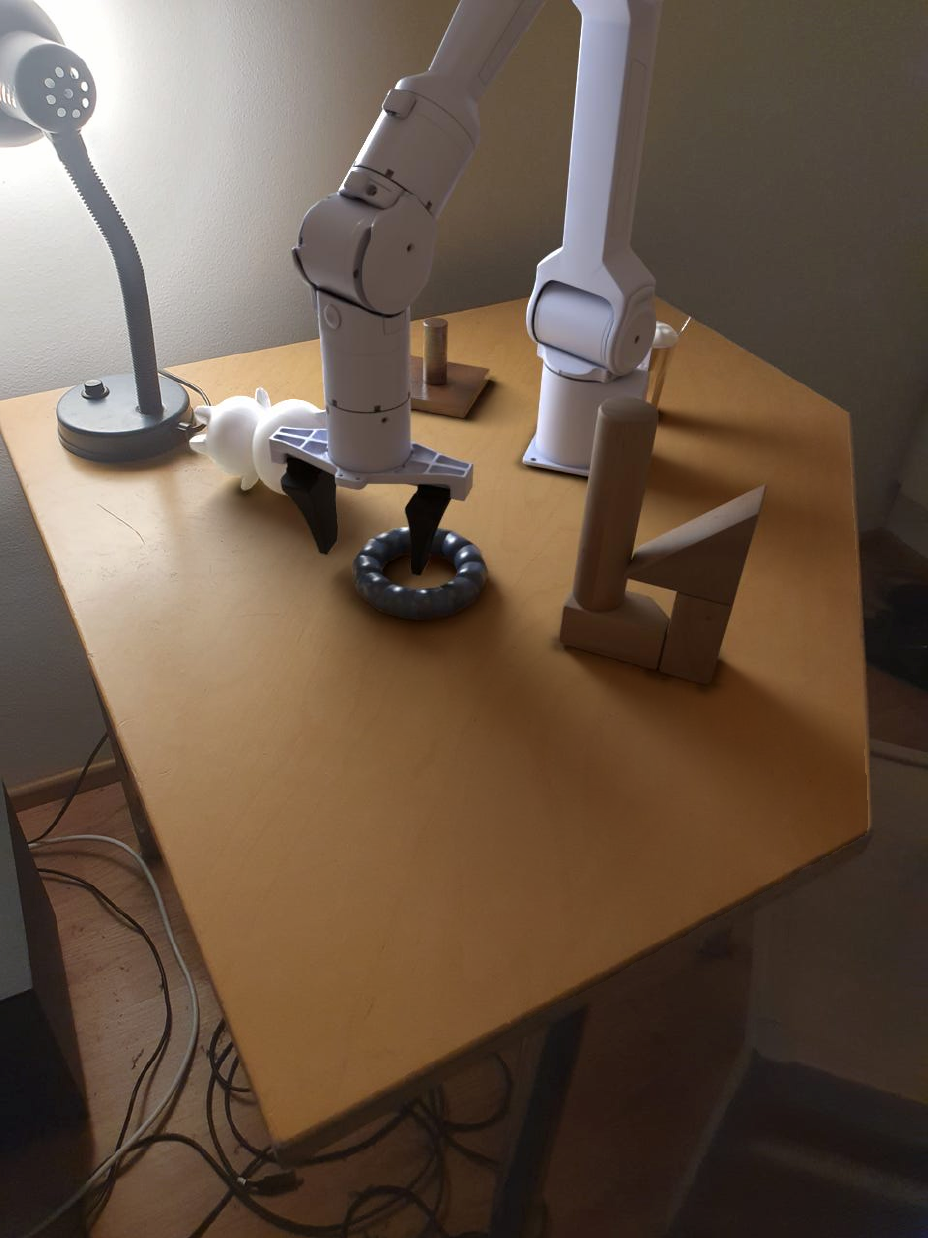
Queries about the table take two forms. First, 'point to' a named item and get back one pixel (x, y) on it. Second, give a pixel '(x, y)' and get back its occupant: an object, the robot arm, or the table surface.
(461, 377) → the stand
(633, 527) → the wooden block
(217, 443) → the cat figurine
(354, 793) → the table surface
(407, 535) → the ring
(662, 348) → the milkshake
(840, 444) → the table surface
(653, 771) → the table surface
